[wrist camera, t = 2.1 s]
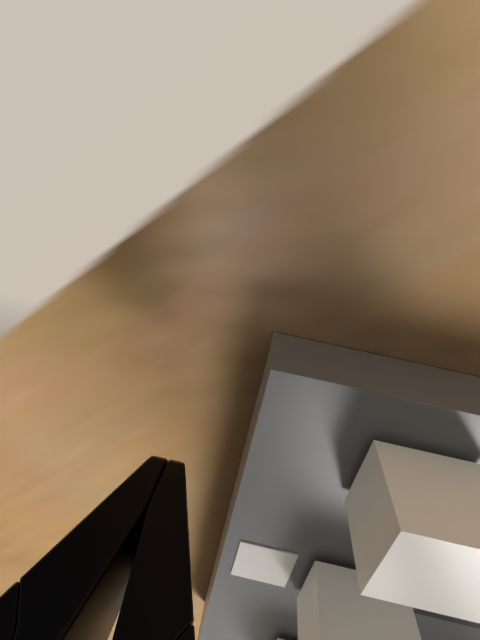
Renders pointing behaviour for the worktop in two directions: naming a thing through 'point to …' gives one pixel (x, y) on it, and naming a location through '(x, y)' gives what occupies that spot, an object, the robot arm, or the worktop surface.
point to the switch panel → (324, 476)
